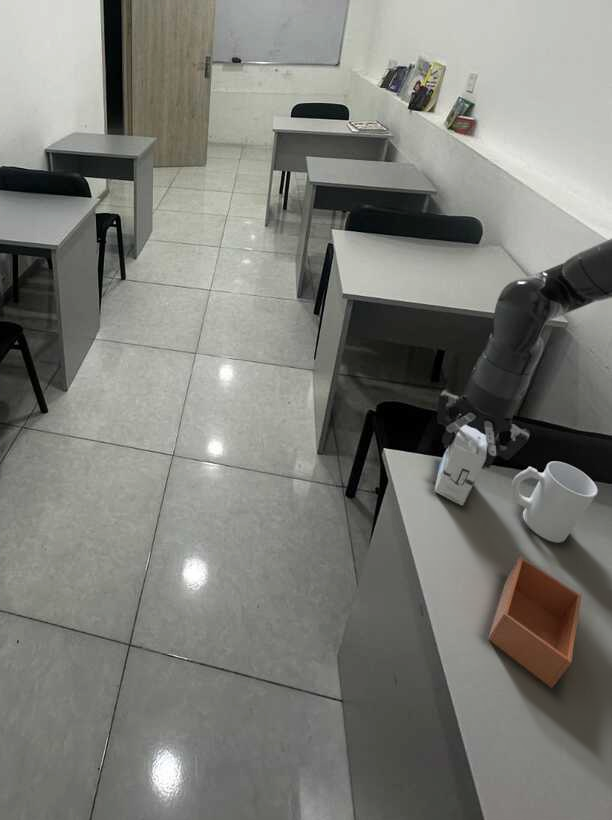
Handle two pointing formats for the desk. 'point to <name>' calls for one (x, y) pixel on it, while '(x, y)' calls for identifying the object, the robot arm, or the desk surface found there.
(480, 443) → the ink box
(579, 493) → the mug
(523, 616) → the open box
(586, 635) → the desk surface
